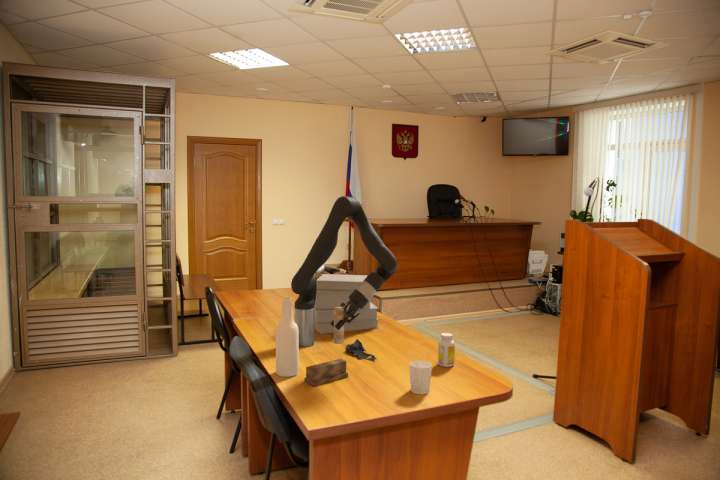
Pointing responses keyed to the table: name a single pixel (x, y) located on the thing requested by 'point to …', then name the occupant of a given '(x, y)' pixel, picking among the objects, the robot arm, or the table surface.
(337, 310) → the dowel
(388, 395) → the table surface
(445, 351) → the supplement bottle
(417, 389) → the white cup
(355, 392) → the table surface
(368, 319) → the book stack
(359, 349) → the decorative bat
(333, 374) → the brown block
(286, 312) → the alcohol
